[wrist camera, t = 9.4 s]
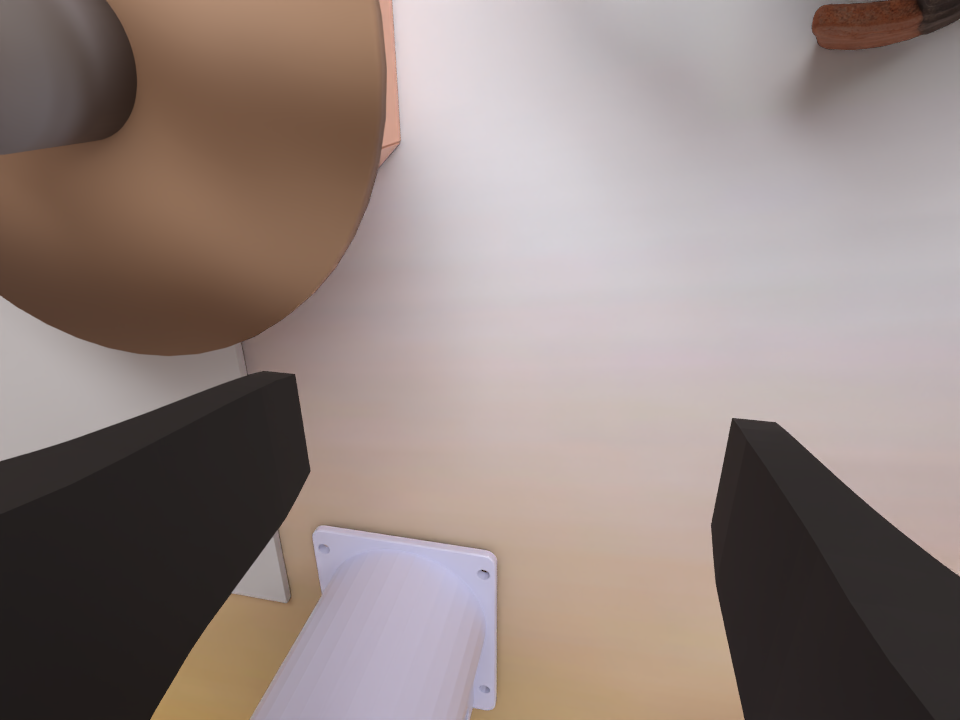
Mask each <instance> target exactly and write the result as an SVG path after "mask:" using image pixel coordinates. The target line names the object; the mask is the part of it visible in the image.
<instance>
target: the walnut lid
mask: <svg viewBox="0 0 960 720" xmlns="http://www.w3.org/2000/svg"><path fill="white" fill-rule="evenodd" d="M386 92H387V63H386V53H385V42H384V31H383V21H382V13H381V8H380V3H379V0H0V296H2V297H3V298H4V299H6V300H7V301H9V302H10V303H12V304H13V305H14V306H16V307H17V308H19V309H21V310H23V311H24V312H26V313H28V314H30V315H31V316H33V317H35V318H37V319H38V320H40V321H42V322H44V323H45V324H47V325H50V326H52V327H54V328H56V329H58V330H61V331H63V332H65V333H67V334H70V335H72V336H74V337H76V338H79V339H82V340H85V341H88V342H91V343H94V344H97V345H100V346H104V347H107V348H111V349H116V350H121V351H126V352H131V353H136V354H144V355H159V356H179V355H193V354H201V353H205V352H210V351H214V350H219V349H223V348H227V347H230V346H232V345H235V344H237V343H240V342H242V341H245V340H247V339H250V338H252V337H255V336H256V335H258V334H260V333H261V332H263V331H264V330H266V329H268V328H269V327H271V326H273V325H274V324H276V323H278V322H279V321H281V320H282V319H283V318H285V317H286V316H288V315H289V314H290V313H292V312H293V311H294V310H295V309H296V308H297V307H299V306H300V305H301V304H302V303H303V302H304V301H305V300H307V299H308V298H309V297H310V296H311V295H312V294H314V293H315V292H316V290H317V289H318V288H319V287H320V286H321V285H322V283H323V282H324V281H325V280H326V279H327V277H328V276H329V275H330V274H331V273H332V271H333V270H334V269H335V268H336V266H337V265H338V263H339V261H340V260H341V258H342V257H343V255H344V253H345V252H346V250H347V248H348V247H349V245H350V243H351V242H352V240H353V238H354V237H355V234H356V232H357V229H358V227H359V225H360V222H361V220H362V218H363V215H364V213H365V210H366V208H367V206H368V203H369V200H370V197H371V193H372V189H373V185H374V182H375V178H376V174H377V171H378V167H379V163H380V157H381V150H382V143H383V136H384V128H385V121H386Z"/></svg>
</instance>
